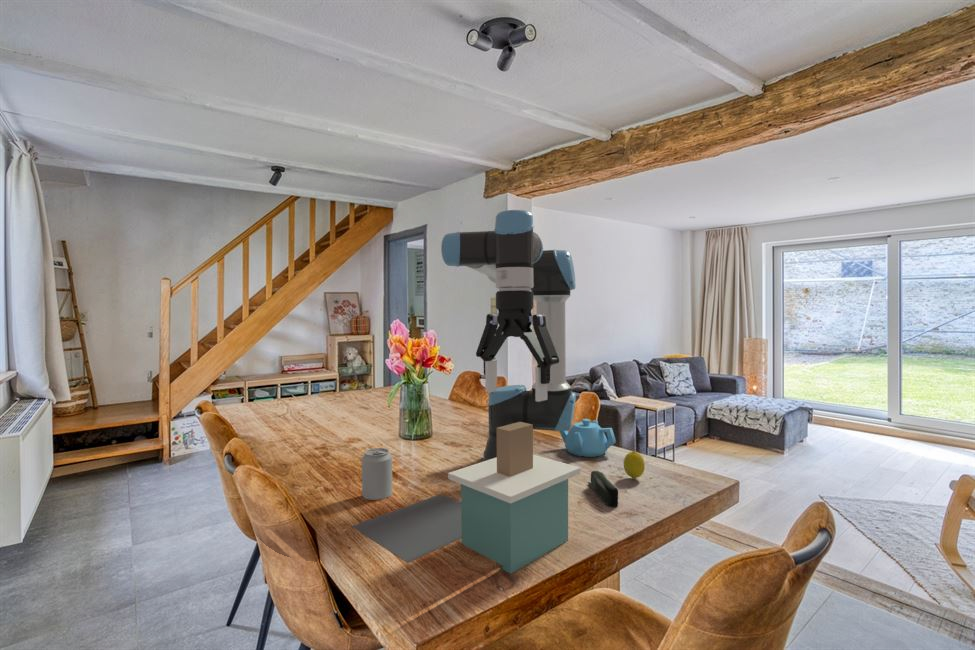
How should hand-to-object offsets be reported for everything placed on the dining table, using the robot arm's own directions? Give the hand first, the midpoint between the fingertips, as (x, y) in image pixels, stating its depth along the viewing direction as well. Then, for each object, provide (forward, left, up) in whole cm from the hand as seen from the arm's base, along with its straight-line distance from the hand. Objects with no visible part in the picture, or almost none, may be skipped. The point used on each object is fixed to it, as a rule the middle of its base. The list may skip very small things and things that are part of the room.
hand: (515, 395), depth 96 cm
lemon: (-1, +50, -31) cm, 59 cm away
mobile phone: (-1, +34, -31) cm, 46 cm away
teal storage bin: (0, 0, -30) cm, 30 cm away
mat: (-19, -8, -30) cm, 37 cm away
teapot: (-25, +62, -31) cm, 73 cm away
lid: (0, 0, -16) cm, 16 cm away
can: (-41, -7, -31) cm, 52 cm away
